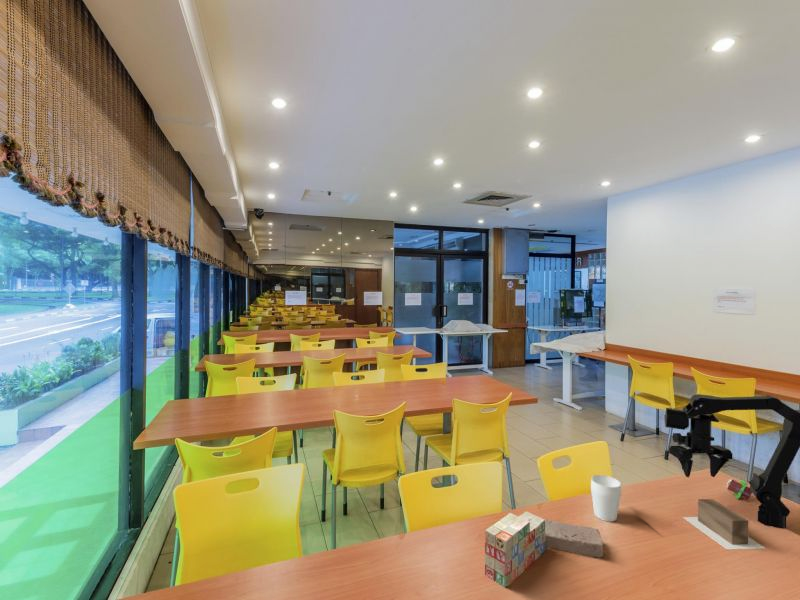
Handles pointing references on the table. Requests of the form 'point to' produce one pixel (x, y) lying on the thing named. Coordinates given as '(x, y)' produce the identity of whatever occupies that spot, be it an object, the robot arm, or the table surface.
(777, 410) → the robot arm
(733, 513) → the block
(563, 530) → the brick
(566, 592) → the table surface
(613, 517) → the cup
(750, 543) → the board
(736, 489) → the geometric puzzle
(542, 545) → the stack of blocks
